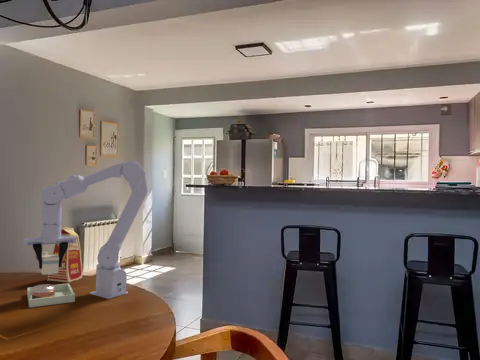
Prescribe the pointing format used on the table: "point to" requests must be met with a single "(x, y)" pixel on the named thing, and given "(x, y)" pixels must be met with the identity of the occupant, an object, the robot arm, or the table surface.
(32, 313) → the table surface
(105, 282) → the robot arm
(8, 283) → the table surface
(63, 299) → the tray
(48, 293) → the tin can
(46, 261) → the tea box
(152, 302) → the table surface
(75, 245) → the milk carton
